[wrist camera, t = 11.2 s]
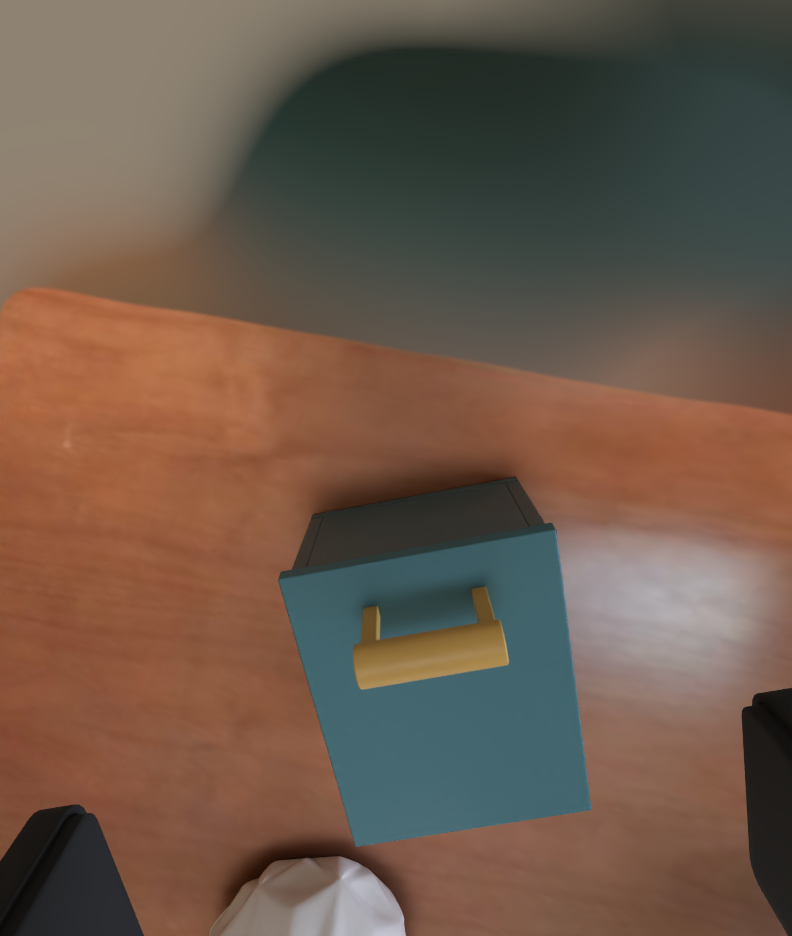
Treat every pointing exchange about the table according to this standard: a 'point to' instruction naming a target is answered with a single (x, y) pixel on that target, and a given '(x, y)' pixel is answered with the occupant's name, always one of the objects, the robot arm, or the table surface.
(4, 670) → the table surface
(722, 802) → the table surface
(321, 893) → the vase
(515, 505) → the chest
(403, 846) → the table surface
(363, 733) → the lid
